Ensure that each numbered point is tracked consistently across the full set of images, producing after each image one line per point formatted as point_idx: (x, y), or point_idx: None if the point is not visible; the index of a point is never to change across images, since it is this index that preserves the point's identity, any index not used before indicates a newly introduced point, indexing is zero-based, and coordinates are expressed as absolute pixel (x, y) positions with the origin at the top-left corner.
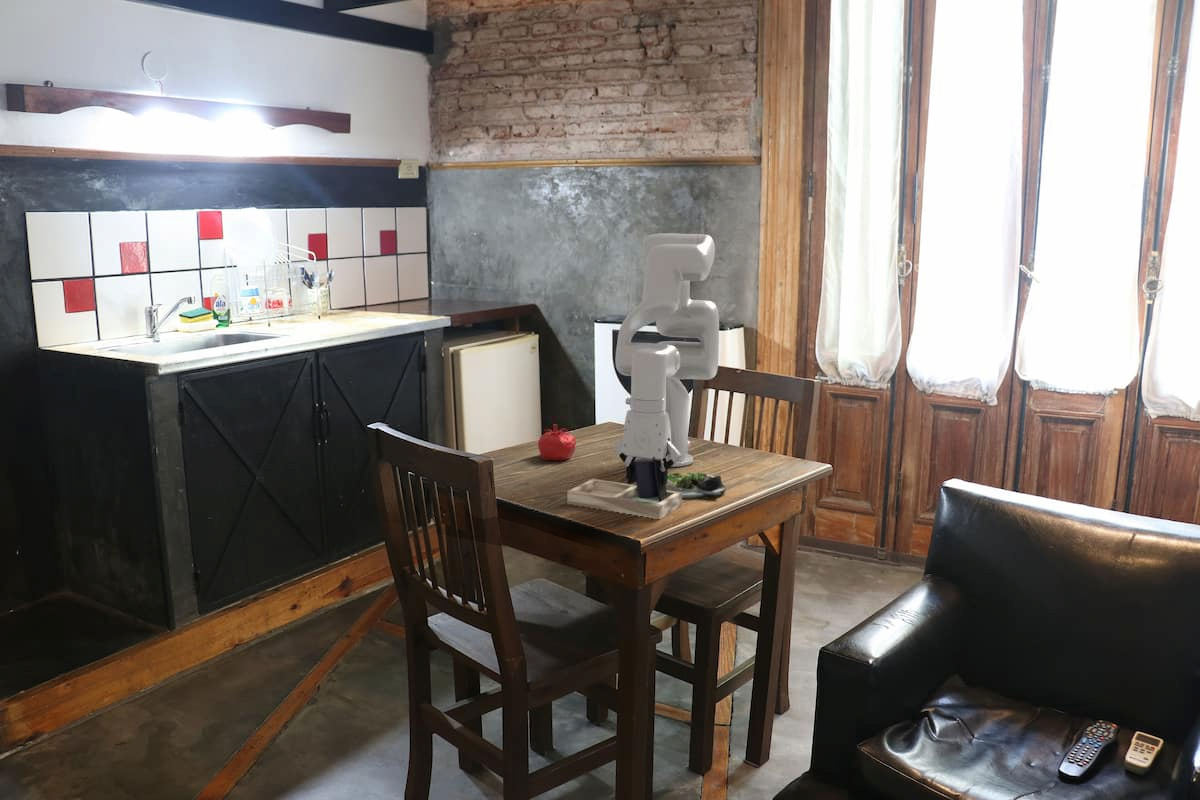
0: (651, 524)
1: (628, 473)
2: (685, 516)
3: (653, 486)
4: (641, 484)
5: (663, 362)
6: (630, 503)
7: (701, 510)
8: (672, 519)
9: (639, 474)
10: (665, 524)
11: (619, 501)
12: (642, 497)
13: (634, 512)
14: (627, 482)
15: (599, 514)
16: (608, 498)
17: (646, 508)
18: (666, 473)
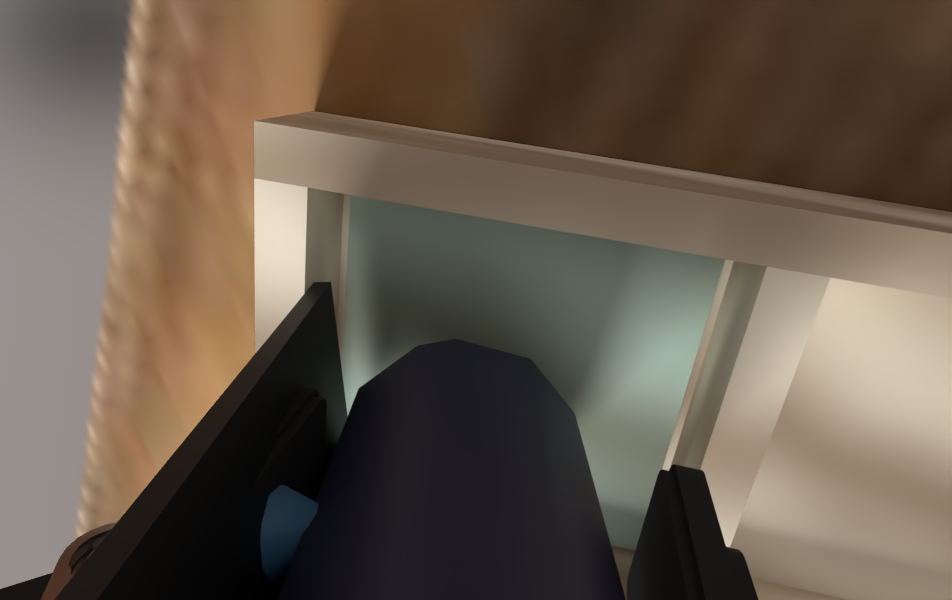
0: None
1: (716, 562)
2: (181, 272)
3: (371, 423)
4: (507, 426)
5: None
6: (585, 169)
7: (151, 427)
8: (230, 166)
9: (525, 515)
10: (224, 9)
11: (720, 191)
12: (511, 358)
13: (542, 150)
14: (705, 477)
15: (893, 57)
16: (870, 218)
17: (409, 140)
18: None
